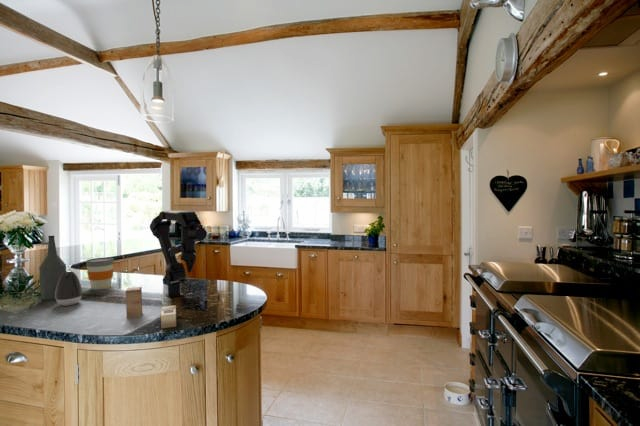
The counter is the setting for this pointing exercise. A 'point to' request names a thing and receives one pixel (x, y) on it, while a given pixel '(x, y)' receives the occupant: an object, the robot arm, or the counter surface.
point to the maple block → (168, 316)
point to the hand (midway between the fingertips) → (189, 272)
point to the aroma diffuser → (68, 289)
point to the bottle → (50, 271)
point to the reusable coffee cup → (100, 272)
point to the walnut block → (134, 302)
